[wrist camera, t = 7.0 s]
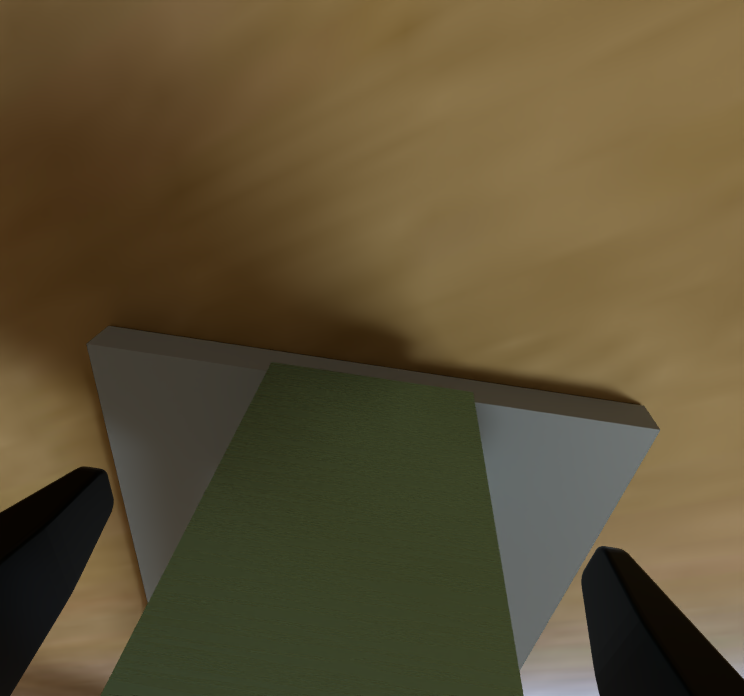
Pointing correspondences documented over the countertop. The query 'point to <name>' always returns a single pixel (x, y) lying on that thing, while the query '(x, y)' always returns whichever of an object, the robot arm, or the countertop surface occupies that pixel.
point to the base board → (492, 401)
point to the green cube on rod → (335, 554)
